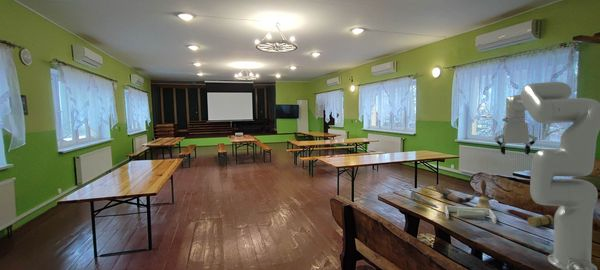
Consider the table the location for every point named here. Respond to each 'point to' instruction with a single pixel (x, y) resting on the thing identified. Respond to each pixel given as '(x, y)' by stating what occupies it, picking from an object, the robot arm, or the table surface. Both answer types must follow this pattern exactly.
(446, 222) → the table surface
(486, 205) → the hand bell
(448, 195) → the antique flintlock pistol
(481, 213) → the pale green block
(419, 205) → the table surface
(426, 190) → the table surface
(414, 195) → the caliper
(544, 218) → the gavel
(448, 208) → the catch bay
